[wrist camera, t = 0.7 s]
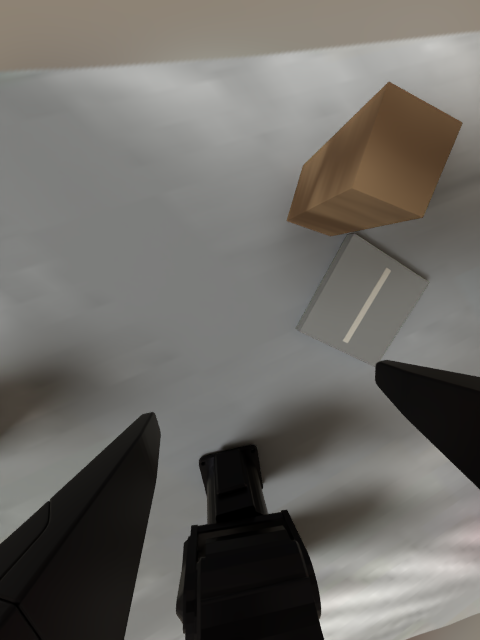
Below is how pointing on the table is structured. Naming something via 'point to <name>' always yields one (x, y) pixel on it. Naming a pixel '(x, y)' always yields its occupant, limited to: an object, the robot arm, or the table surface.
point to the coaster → (362, 301)
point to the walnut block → (376, 166)
